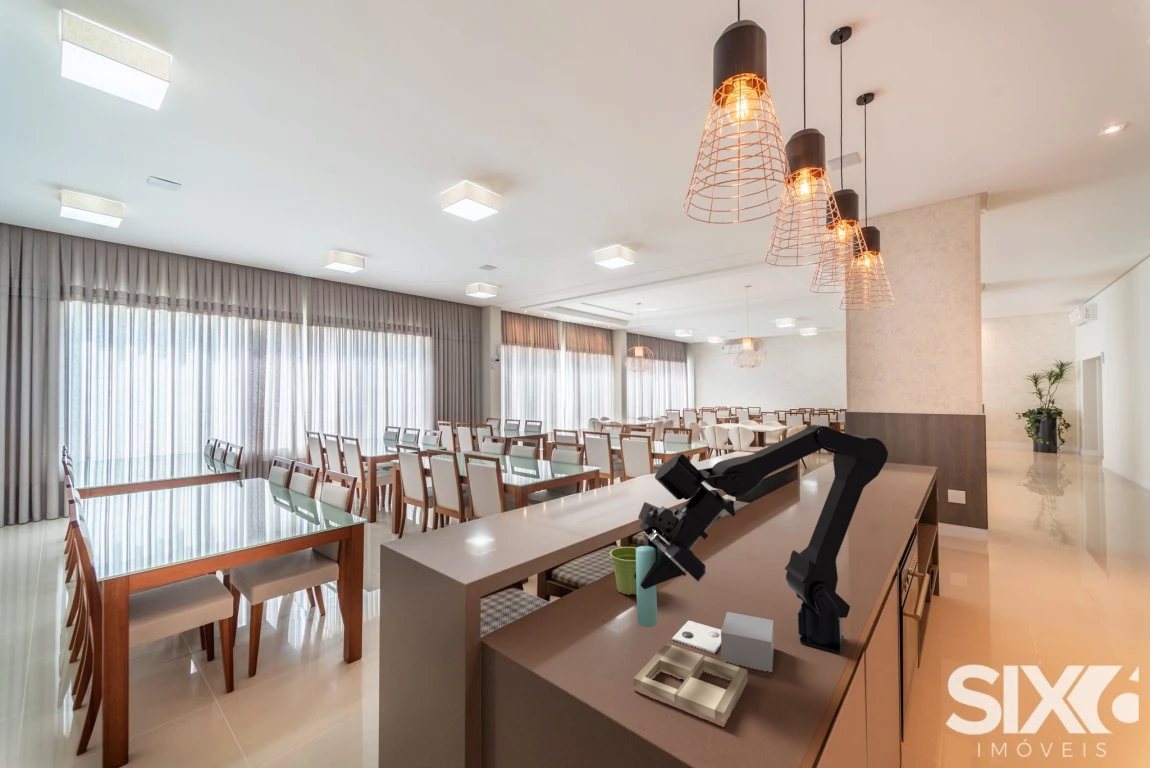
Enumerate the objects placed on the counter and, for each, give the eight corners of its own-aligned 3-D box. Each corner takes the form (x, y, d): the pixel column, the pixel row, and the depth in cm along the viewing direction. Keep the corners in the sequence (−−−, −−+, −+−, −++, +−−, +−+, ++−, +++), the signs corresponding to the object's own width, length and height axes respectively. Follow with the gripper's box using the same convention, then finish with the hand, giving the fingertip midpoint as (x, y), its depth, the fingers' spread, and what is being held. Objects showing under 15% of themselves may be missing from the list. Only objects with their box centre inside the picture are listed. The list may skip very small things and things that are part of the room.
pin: (660, 620, 83) (658, 548, 83) (651, 629, 80) (650, 554, 80) (642, 615, 85) (641, 544, 85) (633, 623, 82) (632, 550, 82)
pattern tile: (728, 633, 88) (728, 630, 88) (714, 653, 81) (714, 650, 81) (688, 622, 92) (688, 619, 92) (672, 640, 86) (672, 637, 86)
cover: (773, 648, 83) (773, 620, 83) (772, 672, 75) (771, 642, 75) (727, 638, 86) (726, 611, 86) (721, 661, 79) (720, 632, 79)
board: (747, 682, 73) (747, 669, 73) (724, 728, 63) (723, 713, 63) (666, 654, 81) (665, 643, 81) (634, 691, 71) (633, 678, 71)
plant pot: (624, 578, 114) (624, 543, 115) (658, 588, 108) (657, 551, 109) (602, 591, 107) (602, 554, 107) (637, 603, 101) (636, 563, 101)
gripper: (648, 478, 92) (596, 537, 90) (685, 499, 74) (621, 573, 72) (686, 515, 94) (635, 574, 92) (732, 544, 75) (670, 619, 73)
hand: (638, 582), depth 82 cm, fingers closed on pin, 3 cm apart
